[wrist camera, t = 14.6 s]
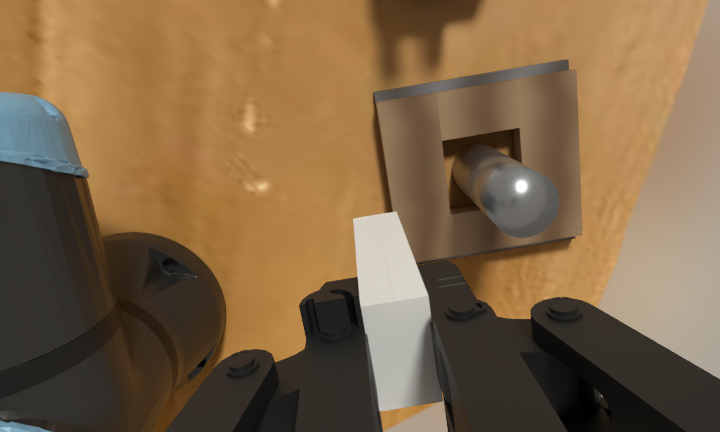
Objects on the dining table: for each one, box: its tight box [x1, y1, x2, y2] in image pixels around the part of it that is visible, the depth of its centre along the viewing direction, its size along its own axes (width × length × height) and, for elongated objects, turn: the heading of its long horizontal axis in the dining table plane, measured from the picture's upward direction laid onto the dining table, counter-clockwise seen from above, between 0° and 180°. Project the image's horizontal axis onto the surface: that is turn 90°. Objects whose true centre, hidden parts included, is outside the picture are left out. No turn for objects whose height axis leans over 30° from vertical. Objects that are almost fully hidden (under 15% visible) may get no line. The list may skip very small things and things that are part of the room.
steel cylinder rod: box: [452, 144, 559, 238], centre depth 38 cm, size 4×4×12 cm
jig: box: [374, 60, 582, 264], centre depth 43 cm, size 16×16×2 cm
